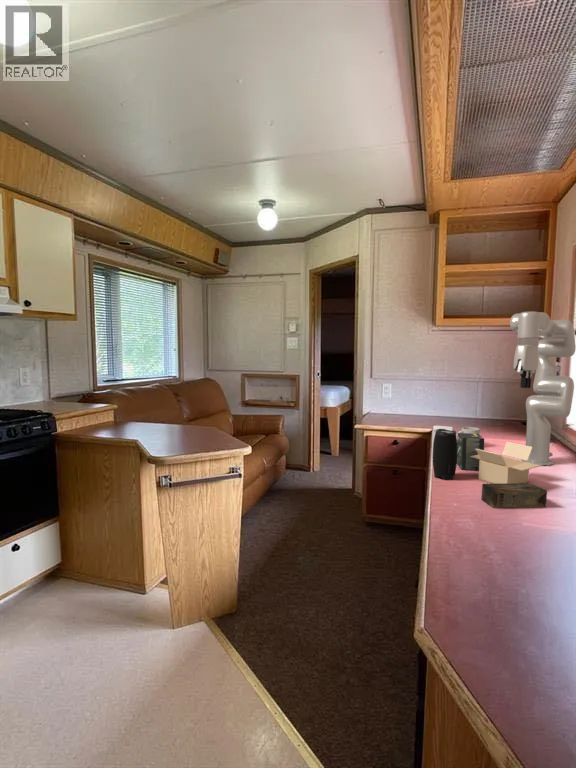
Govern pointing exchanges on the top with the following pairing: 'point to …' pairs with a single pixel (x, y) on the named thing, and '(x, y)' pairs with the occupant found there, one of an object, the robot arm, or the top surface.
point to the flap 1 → (491, 457)
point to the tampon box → (468, 450)
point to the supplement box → (435, 432)
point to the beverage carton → (513, 495)
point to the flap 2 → (517, 451)
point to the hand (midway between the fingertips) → (525, 387)
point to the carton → (504, 471)
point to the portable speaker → (445, 454)
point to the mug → (469, 430)
